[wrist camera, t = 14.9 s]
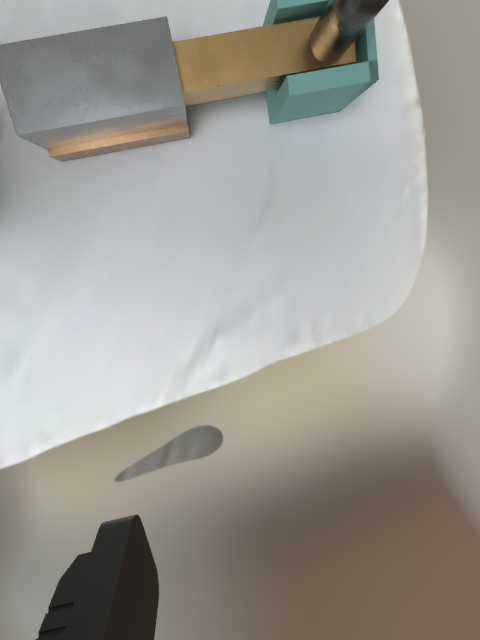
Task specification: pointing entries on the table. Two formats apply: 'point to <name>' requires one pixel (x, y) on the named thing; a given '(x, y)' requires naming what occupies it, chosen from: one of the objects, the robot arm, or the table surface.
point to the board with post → (271, 52)
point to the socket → (322, 85)
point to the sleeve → (95, 89)
